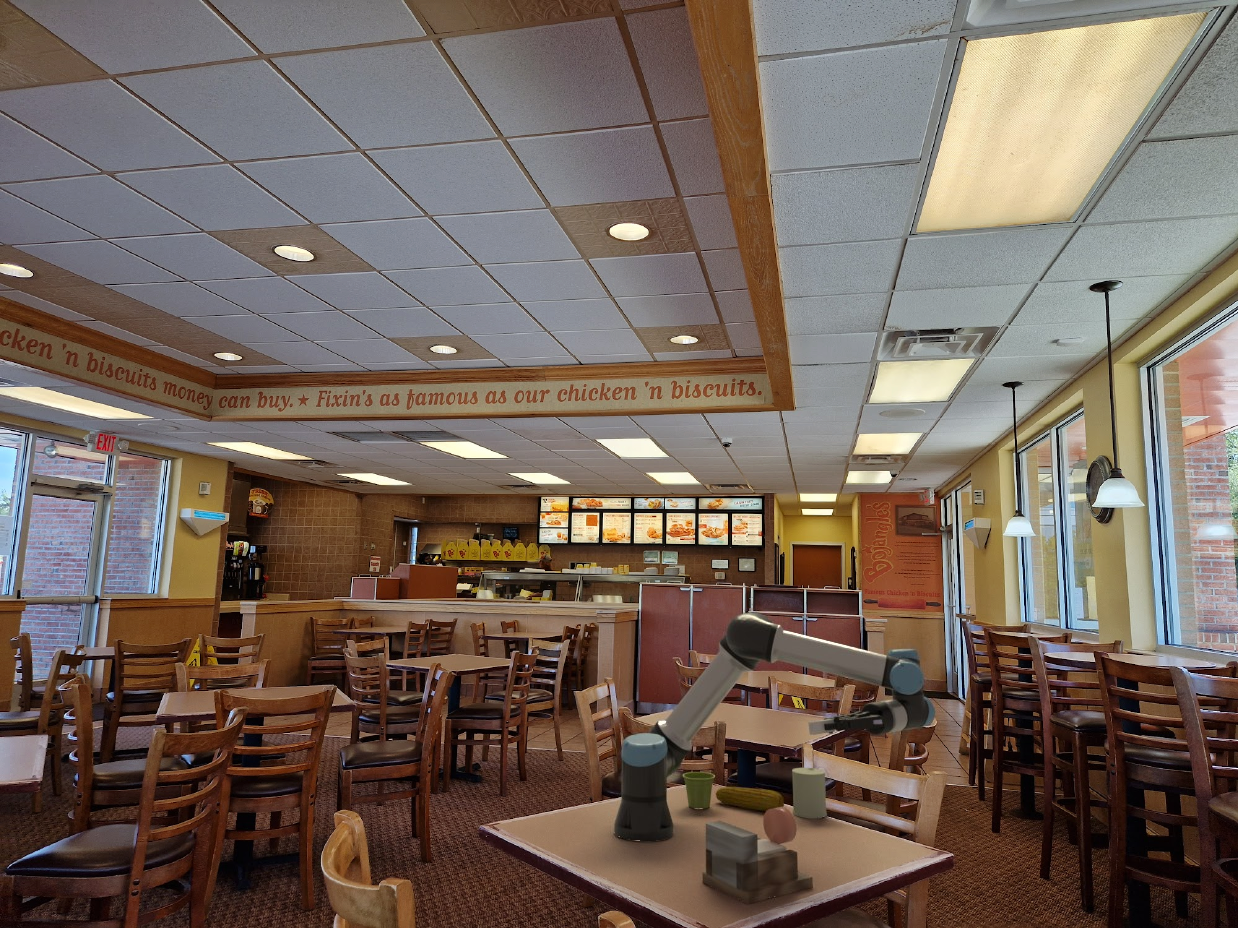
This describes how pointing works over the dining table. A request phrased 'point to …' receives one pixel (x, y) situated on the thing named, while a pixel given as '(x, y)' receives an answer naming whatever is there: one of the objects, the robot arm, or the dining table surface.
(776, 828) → the plunger
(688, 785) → the plant pot
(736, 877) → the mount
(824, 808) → the can
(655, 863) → the dining table surface
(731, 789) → the food
